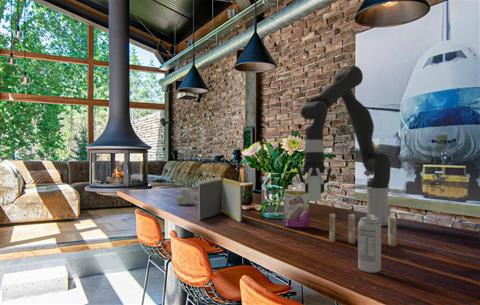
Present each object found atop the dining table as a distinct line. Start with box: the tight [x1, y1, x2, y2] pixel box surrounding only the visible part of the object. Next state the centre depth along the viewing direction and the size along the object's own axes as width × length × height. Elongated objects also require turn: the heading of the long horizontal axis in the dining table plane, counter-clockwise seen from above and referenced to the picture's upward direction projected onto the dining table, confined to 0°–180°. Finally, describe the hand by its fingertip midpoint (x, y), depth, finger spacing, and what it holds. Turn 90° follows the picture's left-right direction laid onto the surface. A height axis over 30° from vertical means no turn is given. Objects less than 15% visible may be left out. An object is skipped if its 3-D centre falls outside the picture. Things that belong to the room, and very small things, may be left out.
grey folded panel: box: [197, 176, 243, 223], centre depth 188 cm, size 35×22×20 cm, turn 20°
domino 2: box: [328, 212, 336, 243], centre depth 137 cm, size 2×5×10 cm, turn 166°
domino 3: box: [348, 213, 356, 245], centre depth 136 cm, size 2×5×10 cm, turn 166°
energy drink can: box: [357, 216, 382, 274], centre depth 102 cm, size 6×6×15 cm
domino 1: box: [308, 175, 322, 202], centre depth 148 cm, size 2×5×10 cm, turn 76°
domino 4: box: [387, 215, 397, 247], centre depth 132 cm, size 2×5×10 cm, turn 166°
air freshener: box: [176, 188, 195, 206], centre depth 234 cm, size 11×8×10 cm
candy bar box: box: [283, 189, 310, 229], centre depth 164 cm, size 11×5×16 cm, turn 84°
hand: (314, 193), depth 148 cm, fingers closed on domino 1, 5 cm apart
